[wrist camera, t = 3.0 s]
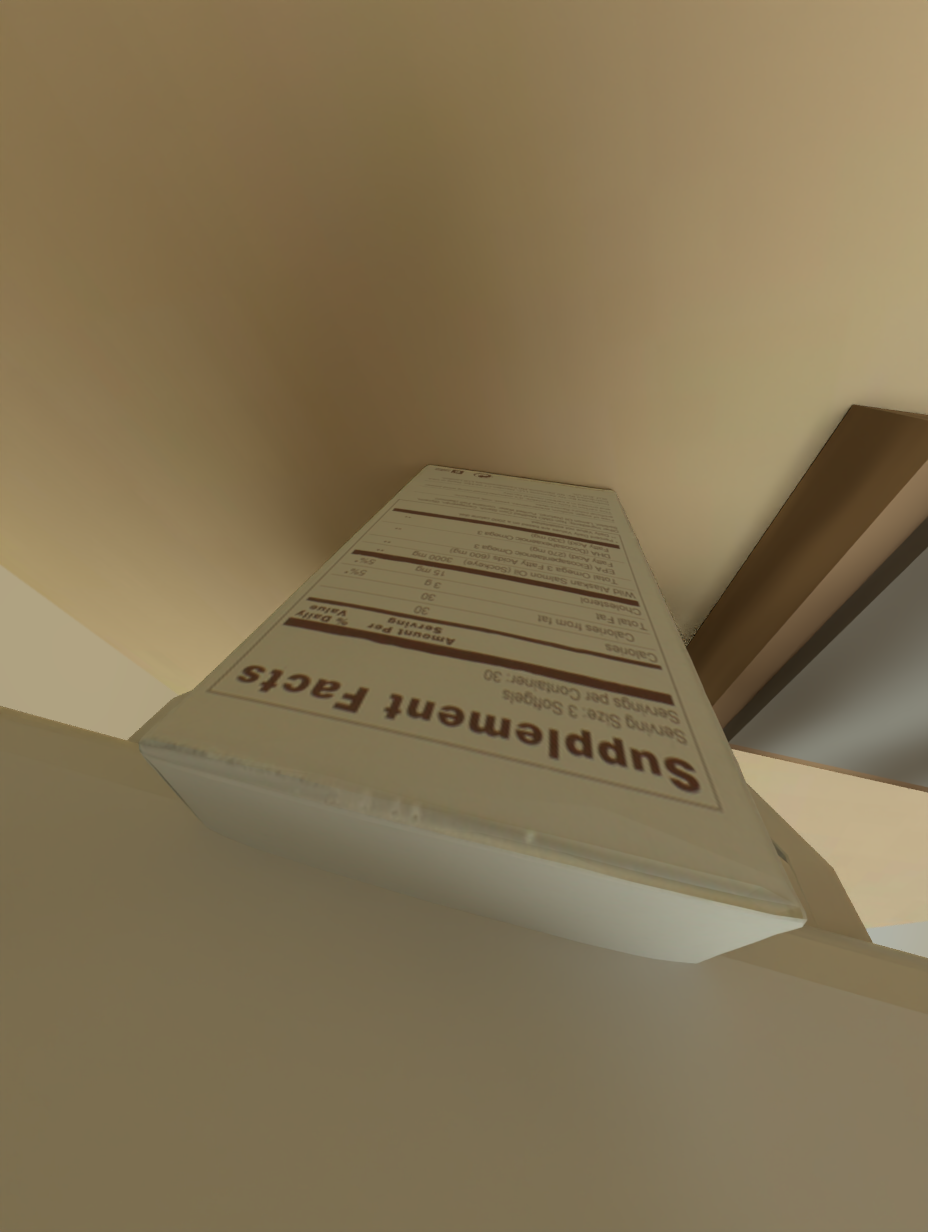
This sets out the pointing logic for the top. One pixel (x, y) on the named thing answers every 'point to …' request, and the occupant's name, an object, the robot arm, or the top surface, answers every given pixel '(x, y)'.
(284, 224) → the top surface
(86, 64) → the top surface
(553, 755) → the supplement box
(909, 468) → the walnut stand
